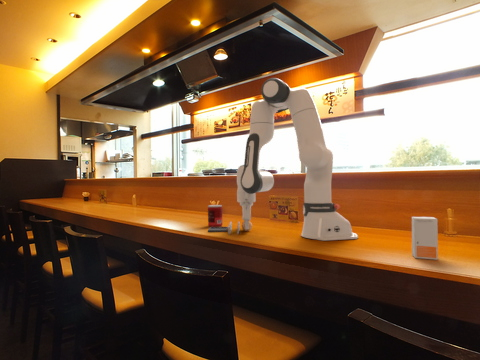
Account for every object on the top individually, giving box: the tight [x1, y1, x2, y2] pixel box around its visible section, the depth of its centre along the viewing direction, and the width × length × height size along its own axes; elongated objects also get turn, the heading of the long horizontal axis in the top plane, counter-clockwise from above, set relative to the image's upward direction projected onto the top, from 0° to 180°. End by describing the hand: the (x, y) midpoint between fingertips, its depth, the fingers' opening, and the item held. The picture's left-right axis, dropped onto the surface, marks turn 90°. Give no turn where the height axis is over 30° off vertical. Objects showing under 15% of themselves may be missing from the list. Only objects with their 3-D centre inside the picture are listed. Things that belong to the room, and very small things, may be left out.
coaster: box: [207, 226, 229, 233], centre depth 143 cm, size 9×9×1 cm
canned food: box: [207, 204, 223, 228], centre depth 158 cm, size 8×8×11 cm
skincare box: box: [411, 216, 439, 261], centre depth 87 cm, size 6×4×12 cm
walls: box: [228, 221, 241, 235], centre depth 139 cm, size 5×16×4 cm, turn 179°
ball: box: [241, 220, 253, 232], centre depth 139 cm, size 5×5×5 cm
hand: (246, 227), depth 139 cm, fingers open, 8 cm apart
